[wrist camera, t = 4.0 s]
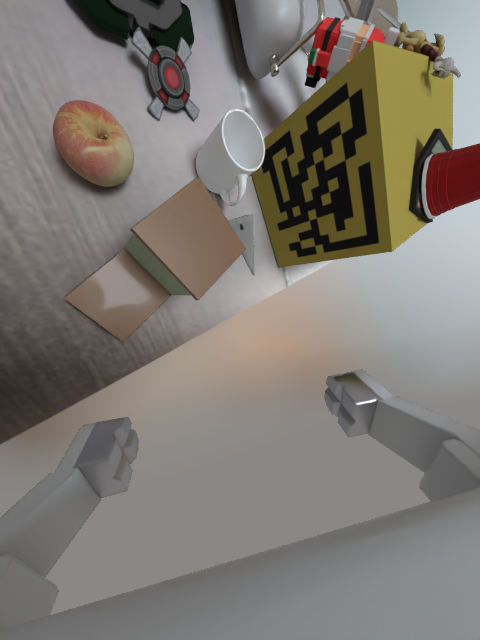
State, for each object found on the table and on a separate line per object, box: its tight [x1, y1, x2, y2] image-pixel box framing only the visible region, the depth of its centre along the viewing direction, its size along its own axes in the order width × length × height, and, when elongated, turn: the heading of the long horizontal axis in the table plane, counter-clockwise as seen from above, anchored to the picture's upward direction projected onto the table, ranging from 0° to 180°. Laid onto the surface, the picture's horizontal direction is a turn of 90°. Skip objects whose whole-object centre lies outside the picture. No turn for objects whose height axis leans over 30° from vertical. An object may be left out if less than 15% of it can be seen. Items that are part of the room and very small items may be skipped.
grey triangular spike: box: [228, 215, 254, 275], centre depth 49 cm, size 6×5×13 cm
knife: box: [356, 0, 378, 26], centre depth 44 cm, size 5×1×30 cm
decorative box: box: [252, 41, 453, 267], centre depth 48 cm, size 26×37×30 cm
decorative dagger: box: [377, 8, 461, 79], centre depth 38 cm, size 10×3×30 cm
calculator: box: [409, 129, 452, 223], centre depth 37 cm, size 9×12×3 cm
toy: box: [132, 27, 199, 121], centre depth 34 cm, size 12×12×1 cm
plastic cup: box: [422, 144, 480, 219], centre depth 33 cm, size 11×11×12 cm
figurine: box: [305, 17, 400, 88], centre depth 36 cm, size 8×7×12 cm
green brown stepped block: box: [64, 177, 246, 342], centre depth 31 cm, size 11×21×15 cm, turn 134°
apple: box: [53, 100, 134, 187], centre depth 29 cm, size 9×9×8 cm
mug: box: [196, 109, 265, 206], centre depth 39 cm, size 9×12×11 cm
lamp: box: [235, 0, 398, 79], centre depth 43 cm, size 27×23×40 cm
